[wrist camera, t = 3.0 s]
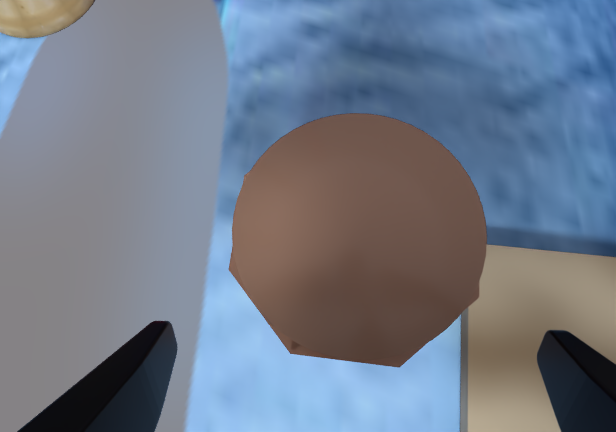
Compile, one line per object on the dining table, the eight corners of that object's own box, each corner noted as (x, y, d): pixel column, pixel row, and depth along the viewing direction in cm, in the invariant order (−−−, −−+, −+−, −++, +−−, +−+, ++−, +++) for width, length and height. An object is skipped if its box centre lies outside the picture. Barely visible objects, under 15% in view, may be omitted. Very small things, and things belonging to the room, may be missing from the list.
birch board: (703, 551, 16) (727, 566, 15) (459, 514, 17) (467, 525, 16) (667, 267, 19) (685, 264, 18) (462, 246, 20) (468, 242, 19)
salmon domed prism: (408, 351, 19) (491, 381, 9) (267, 334, 19) (207, 345, 10) (414, 214, 21) (489, 119, 11) (285, 201, 21) (249, 101, 12)
